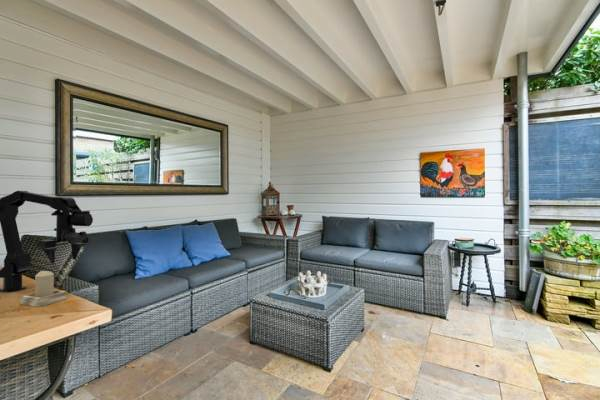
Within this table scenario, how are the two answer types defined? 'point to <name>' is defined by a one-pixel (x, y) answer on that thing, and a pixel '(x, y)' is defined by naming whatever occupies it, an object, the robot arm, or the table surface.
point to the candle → (44, 284)
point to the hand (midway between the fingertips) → (63, 261)
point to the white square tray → (43, 298)
